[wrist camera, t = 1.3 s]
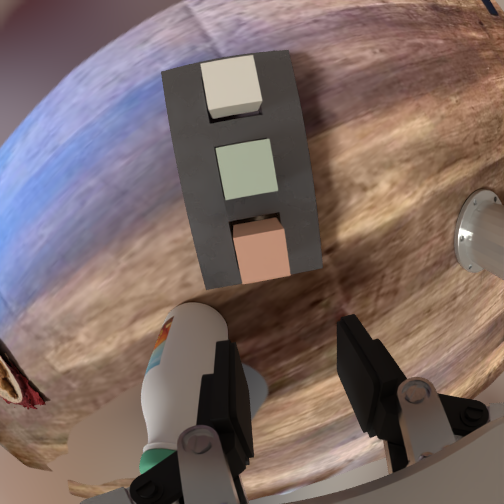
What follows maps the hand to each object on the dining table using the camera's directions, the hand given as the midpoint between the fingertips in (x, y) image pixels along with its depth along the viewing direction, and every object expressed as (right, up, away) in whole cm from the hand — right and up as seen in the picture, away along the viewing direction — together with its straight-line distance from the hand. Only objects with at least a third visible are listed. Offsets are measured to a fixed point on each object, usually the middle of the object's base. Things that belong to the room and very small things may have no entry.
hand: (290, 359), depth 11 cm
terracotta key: (-1, +5, +16) cm, 17 cm away
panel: (-2, +13, +16) cm, 21 cm away
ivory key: (-3, +18, +11) cm, 22 cm away
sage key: (-2, +12, +13) cm, 18 cm away
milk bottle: (-8, -5, +22) cm, 24 cm away
